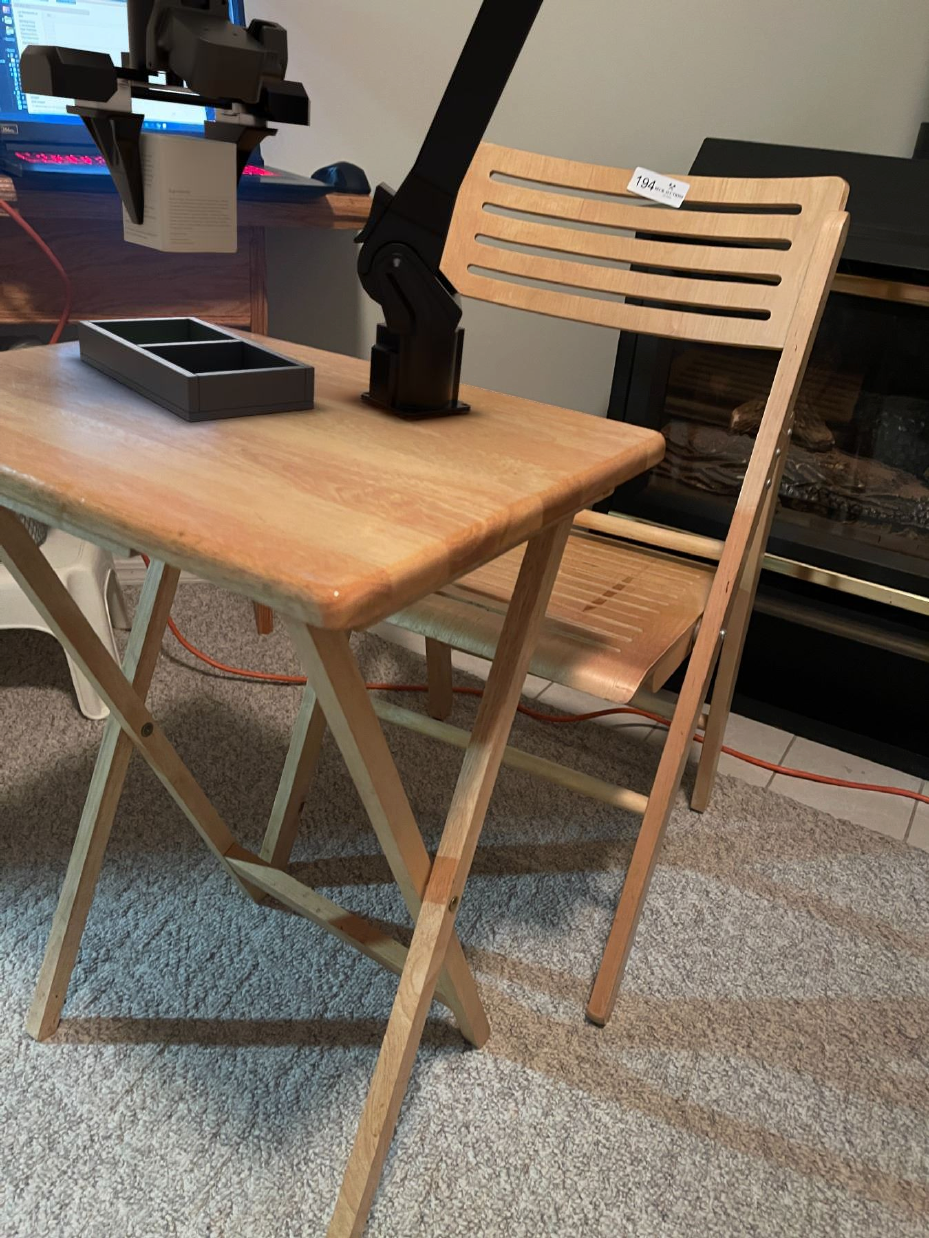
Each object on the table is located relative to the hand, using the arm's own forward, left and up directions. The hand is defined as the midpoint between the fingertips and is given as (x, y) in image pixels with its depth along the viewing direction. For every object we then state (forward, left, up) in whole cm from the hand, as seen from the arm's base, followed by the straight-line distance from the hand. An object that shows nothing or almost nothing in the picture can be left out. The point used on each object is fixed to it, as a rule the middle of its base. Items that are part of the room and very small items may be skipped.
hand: (179, 225), depth 68 cm
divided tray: (-1, 0, -12) cm, 12 cm away
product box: (0, 0, -2) cm, 2 cm away
